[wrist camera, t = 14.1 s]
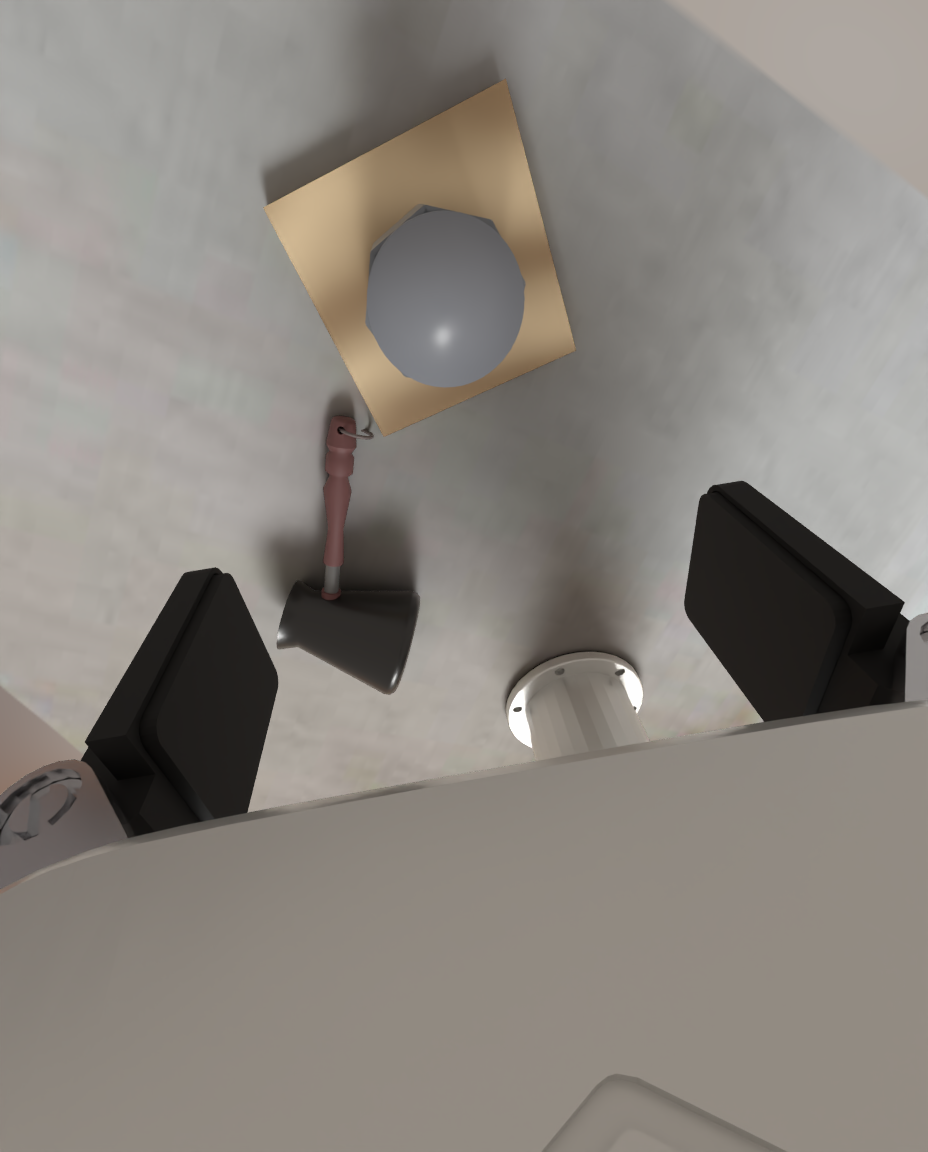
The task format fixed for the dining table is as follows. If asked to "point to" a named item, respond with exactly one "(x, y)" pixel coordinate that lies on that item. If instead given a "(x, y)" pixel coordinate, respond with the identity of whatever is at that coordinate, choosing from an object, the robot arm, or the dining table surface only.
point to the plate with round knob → (385, 195)
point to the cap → (444, 296)
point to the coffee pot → (349, 593)
